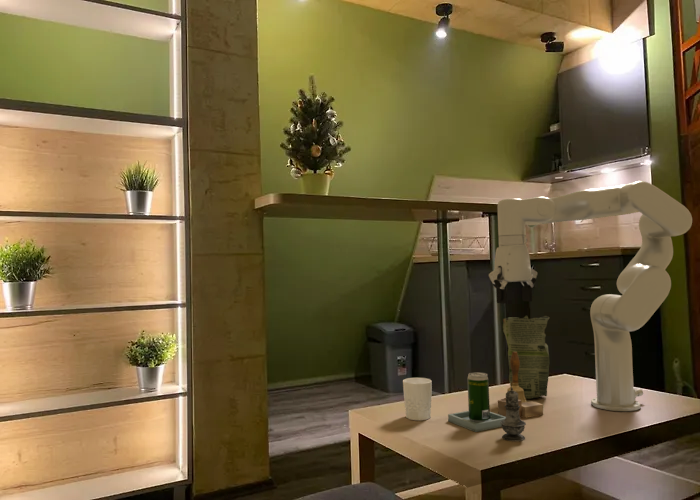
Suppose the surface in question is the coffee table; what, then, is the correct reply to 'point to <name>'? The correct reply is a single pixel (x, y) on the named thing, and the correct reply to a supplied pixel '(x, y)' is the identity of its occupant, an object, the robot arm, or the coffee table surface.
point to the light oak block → (532, 409)
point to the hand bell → (516, 377)
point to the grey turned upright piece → (512, 418)
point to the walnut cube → (503, 410)
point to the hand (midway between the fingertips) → (514, 302)
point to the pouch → (529, 353)
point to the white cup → (417, 398)
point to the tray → (465, 422)
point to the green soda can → (478, 397)
